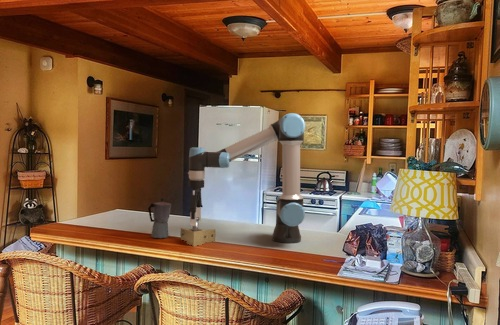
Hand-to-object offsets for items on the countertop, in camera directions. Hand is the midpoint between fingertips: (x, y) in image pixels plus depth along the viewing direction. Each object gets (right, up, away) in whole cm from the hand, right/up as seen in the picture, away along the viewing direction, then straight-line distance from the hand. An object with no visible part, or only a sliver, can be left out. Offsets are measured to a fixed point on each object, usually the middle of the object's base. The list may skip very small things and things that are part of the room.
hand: (195, 223), depth 195 cm
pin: (0, -10, 0) cm, 10 cm away
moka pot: (-20, -10, +13) cm, 26 cm away
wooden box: (0, -10, +7) cm, 12 cm away
